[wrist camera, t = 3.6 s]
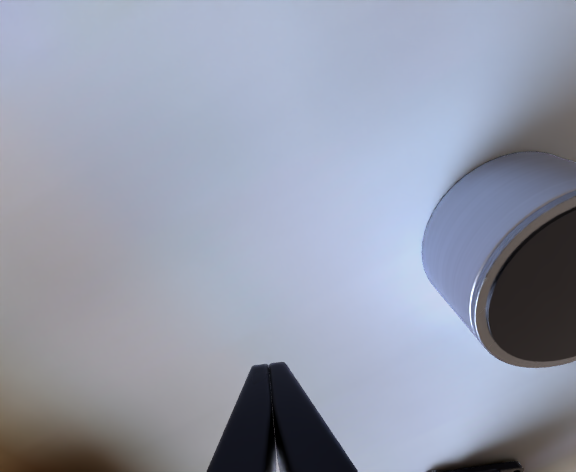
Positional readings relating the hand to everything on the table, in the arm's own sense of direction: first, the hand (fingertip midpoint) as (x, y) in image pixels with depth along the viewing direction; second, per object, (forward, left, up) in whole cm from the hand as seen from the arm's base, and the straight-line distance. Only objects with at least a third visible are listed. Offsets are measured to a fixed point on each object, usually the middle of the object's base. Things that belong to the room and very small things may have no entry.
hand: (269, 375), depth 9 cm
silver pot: (0, -10, -6) cm, 12 cm away
